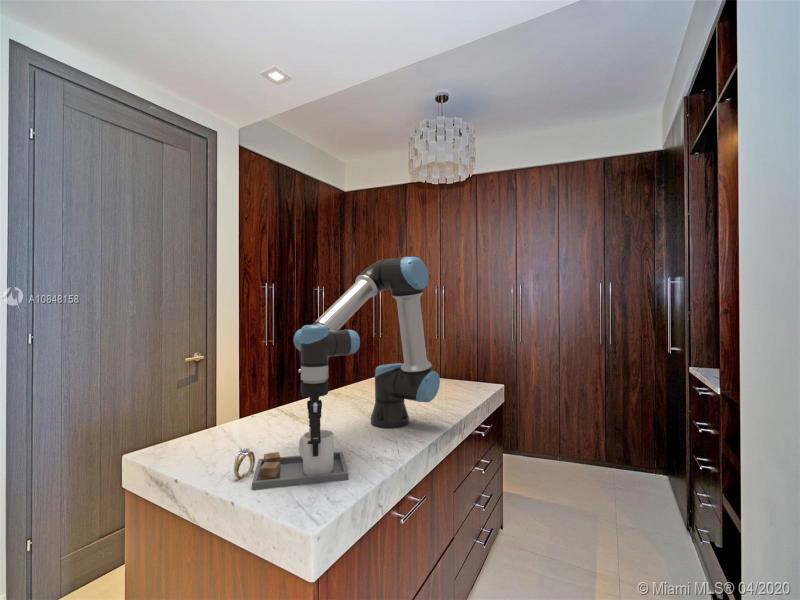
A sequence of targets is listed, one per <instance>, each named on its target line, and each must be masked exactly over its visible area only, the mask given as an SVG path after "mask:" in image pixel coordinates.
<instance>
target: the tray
mask: <svg viewBox="0 0 800 600" xmlns="http://www.w3.org/2000/svg"><path fill="white" fill-rule="evenodd" d="M263 464H264V458H258V460H257V464H256V467H255V471H254V475H253V478H252V481H251V490H252V491H256V490H264V489H265V490H266V489H275V488H284V487H294V486H303V485H313V484H322V483H323V484H324V483H332V482H339V481H340V482H342V481H349V471H348V470H349V469H348V466H347V463H346V459H345V455H344V452H343V451H336V452H335V451H334V466H333V471H332V472H331V473H330V474H320V475H310V476H307V475H305V474H304V472H303V459H302V458H301V456H300V454H299V455H289V456H280V478H279V479H270V480H260V467H261V466H262V465H263Z"/></svg>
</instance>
